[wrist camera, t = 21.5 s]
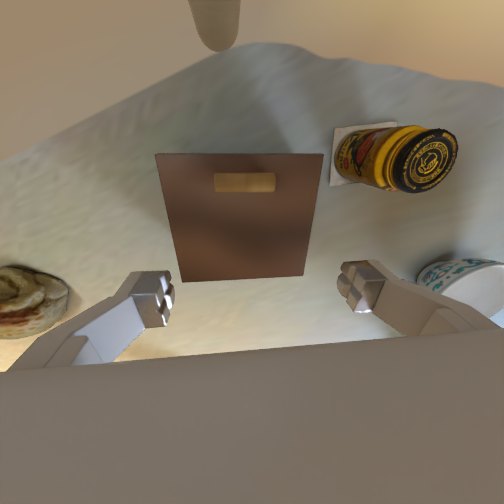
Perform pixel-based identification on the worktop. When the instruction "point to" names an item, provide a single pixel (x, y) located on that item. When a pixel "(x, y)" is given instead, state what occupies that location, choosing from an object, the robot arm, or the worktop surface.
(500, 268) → the chinaware
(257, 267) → the chest lid
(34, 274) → the pastry
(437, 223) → the worktop surface
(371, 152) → the condiment
